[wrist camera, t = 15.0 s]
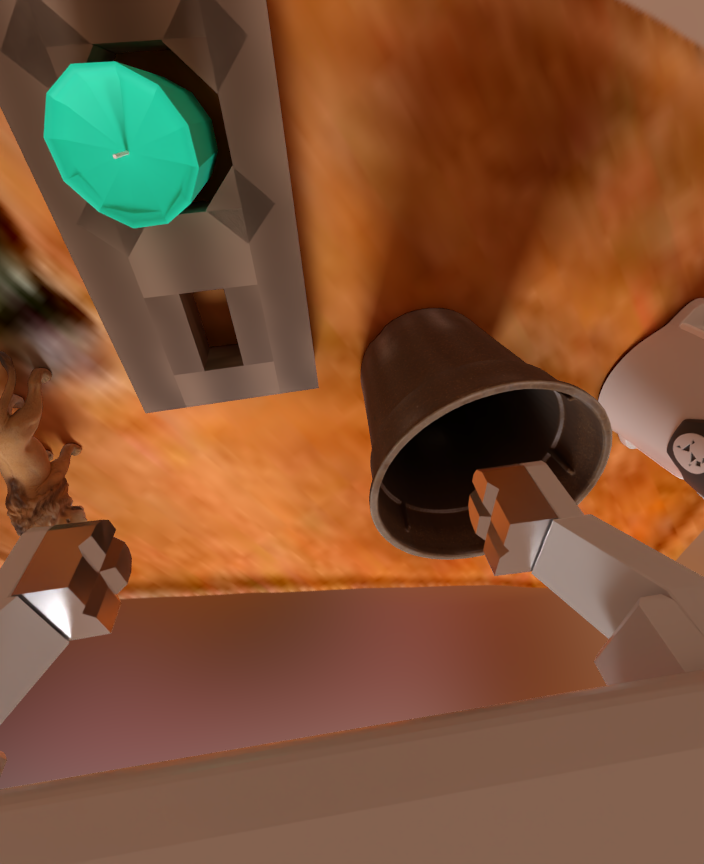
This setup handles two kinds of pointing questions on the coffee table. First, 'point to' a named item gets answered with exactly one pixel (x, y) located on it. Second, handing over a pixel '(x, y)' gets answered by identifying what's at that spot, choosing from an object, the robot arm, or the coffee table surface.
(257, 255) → the socket block
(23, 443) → the lion figurine
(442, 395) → the plant pot
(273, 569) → the coffee table surface
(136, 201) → the candle
